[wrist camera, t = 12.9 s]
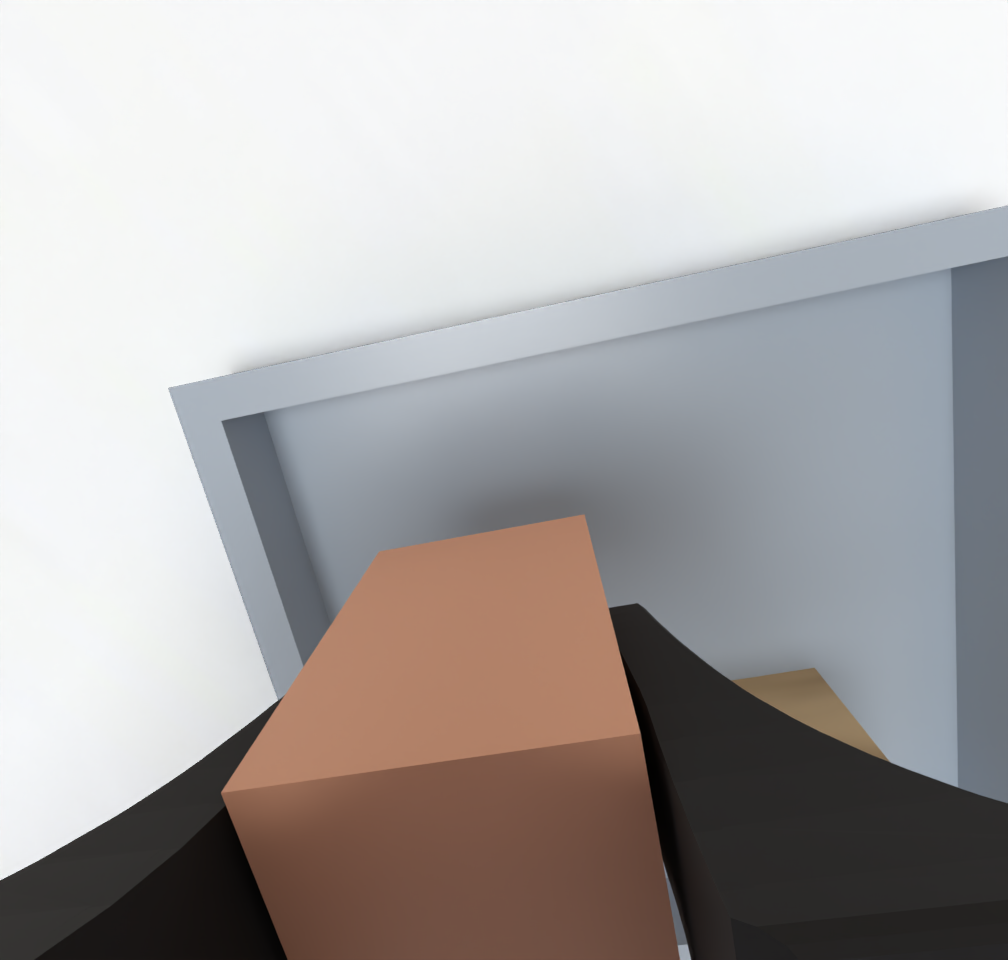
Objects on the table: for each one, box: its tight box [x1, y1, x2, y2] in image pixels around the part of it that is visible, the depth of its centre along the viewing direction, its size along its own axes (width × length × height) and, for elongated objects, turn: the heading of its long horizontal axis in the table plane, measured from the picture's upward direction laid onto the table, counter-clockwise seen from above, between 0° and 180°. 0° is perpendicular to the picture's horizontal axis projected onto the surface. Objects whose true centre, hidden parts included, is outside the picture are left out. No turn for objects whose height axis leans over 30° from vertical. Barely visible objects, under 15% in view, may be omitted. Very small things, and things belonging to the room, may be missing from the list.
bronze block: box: [731, 668, 890, 762], centre depth 15 cm, size 4×4×6 cm
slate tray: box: [168, 206, 1008, 960], centre depth 17 cm, size 20×20×3 cm
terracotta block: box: [221, 515, 680, 960], centre depth 9 cm, size 4×4×6 cm
